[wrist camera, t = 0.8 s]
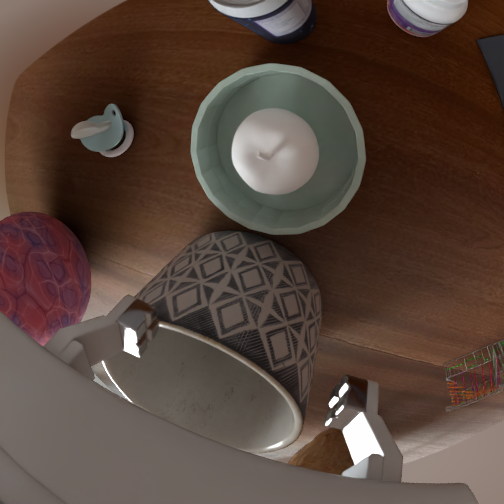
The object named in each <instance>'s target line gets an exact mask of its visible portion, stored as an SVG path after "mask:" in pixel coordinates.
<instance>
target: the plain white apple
mask: <svg viewBox="0 0 504 504" xmlns="http://www.w3.org/2000/svg"><path fill="white" fill-rule="evenodd" d="M318 160H319V146H318V142H317V139H316V136H315V134H314V132H313V130H312V129H311V127H310V126H309V124H308V123H307V122H306V121H305V120H303V119H302V118H301V117H299V116H298V115H296V114H295V113H292V112H290V111H288V110H284V109H280V108H267V109H262V110H258V111H256V112H254V113H252V114H251V115H249V116H248V117H247V118H246V119H244V121H243V122H242V123H241V124H240V126H239V127H238V129H237V131H236V133H235V135H234V139H233V143H232V161H233V165H234V167H235V169H236V171H237V172H238V173H239V175H240V176H241V177H242V179H243V180H244V181H245V182H246V183H247V184H248V185H249V186H250V187H251V188H253V189H254V190H255V191H258V192H261V193H265V194H273V195H280V194H287V193H290V192H293V191H295V190H297V189H298V188H300V187H302V186H303V185H304V184H305V183H306V182H308V181H309V179H310V178H311V177H312V175H313V174H314V172H315V170H316V167H317V165H318Z"/></svg>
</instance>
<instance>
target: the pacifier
mask: <svg viewBox="0 0 504 504" xmlns="http://www.w3.org/2000/svg"><path fill="white" fill-rule="evenodd" d="M114 110H115V112H116V116H115V115H114ZM124 129H125V131H126V138H125V141H124V142H123V144H122V145H121V146H120V147H119V148H117V149H116V150H109V149H111V148H113V147H114V146H116V145H117V144H118V143H119V142H120V140H121V139H122V137H123V133H124ZM71 137H72V138H76V139H81V142H82V144H83V145H84V146H85V147H86V148H88V149H89V150H91V151H96V152H100V153H101V154H102V155H104V156H106V157H116V156H118V155H120V154H122V153H123V152H125V151H126V150H127V149H128V148H129V146H130V145H131V143H132V140H133V137H134V131H133V127H132V125H131V124H130V123H129V122H128V121H125V120H123V119H122V115H121V112H120V110H119V108H118V107H117V105H115V104H109V105H108V106H107V107H106V109H105V111H104V115H102V116H93V117H91V118H89V119H88V120H87V121H83V122H80V123H78V124H76V125H75V126H74V127H73V129H72V131H71Z"/></svg>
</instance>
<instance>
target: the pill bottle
mask: <svg viewBox="0 0 504 504" xmlns="http://www.w3.org/2000/svg"><path fill="white" fill-rule="evenodd" d="M467 6H468V0H387V9H388V13H389V15H390V17H391V18H392V20H393V21H394V23H395V24H396V25H397V26H398V27H399V28H401V29H402V30H404V31H405V32H407V33H409V34H411V35H414V36H418V37H429V36H433V35H435V34H437V33H438V32H440V31H441V30H443V29H444V28H446V27H448V26H449V25H451V24H453V23H454V22H456V21H458V20H459V19H460V18H461V17H463V15H464V14H465V12H466V10H467Z"/></svg>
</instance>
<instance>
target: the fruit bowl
mask: <svg viewBox="0 0 504 504" xmlns="http://www.w3.org/2000/svg"><path fill="white" fill-rule="evenodd" d="M267 108H280V109H284V110H288V111H290V112H292V113H295V114H296V115H298V116H299V117H301V118H302V119H303V120H305V121H306V122H307V123H308V124H309V126H310V127H311V129H312V130H313V132H314V134H315V136H316V139H317V142H318V146H319V160H318V165H317V167H316V170H315V172H314V174H313V175H312V177H311V178H310V179H309V181H308V182H306V183H305V184H304V185H303V186H302V187H300V188H298V189H297V190H295V191H293V192H290V193H287V194H280V195H273V194H265V193H261V192H258V191H255V190H254V189H253V188H251V187H250V186H249V185H248V184H247V183H246V182H245V181H244V180H243V179H242V177H241V176H240V175H239V173H238V172H237V171H236V169H235V167H234V165H233V161H232V143H233V139H234V135H235V133H236V131H237V129H238V127H239V126H240V124H241V123H242V122H243V121H244V119H246V118H247V117H248V116H249V115H251V114H252V113H254V112H256V111H258V110H262V109H267ZM191 156H192V160H193V164H194V168H195V173H196V176H197V178H198V180H199V182H200V184H201V185H202V187H203V189H204V191H205V192H206V194H207V196H208V198H209V199H210V200H211V201H212V202H213V203H214V204H215V205H216V206H217V207H218V208H219V209H220V210H221V211H222V212H223V213H224V214H225V215H226V216H227V217H229V218H231V219H232V220H234V221H236V222H238V223H240V224H241V225H243V226H245V227H247V228H248V229H252V230H256V231H260V232H264V233H268V234H272V235H286V234H301V233H304V232H307V231H310V230H312V229H315V228H318V227H321V226H323V225H325V224H326V223H328V222H329V221H330V220H332V219H333V218H334V217H336V216H337V215H338V214H339V213H341V212H342V211H343V210H344V209H345V208H346V207H347V205H348V204H349V202H350V201H351V199H352V198H353V196H354V195H355V193H356V191H357V190H358V188H359V187H360V183H361V179H362V175H363V171H364V167H365V163H366V153H365V142H364V133H363V129H362V127H361V125H360V122H359V120H358V118H357V116H356V114H355V112H354V110H353V108H352V106H351V104H350V102H349V101H348V100H347V99H346V98H345V97H344V96H343V95H342V94H341V93H340V92H339V91H338V90H337V89H336V88H335V87H334V86H333V85H332V84H331V83H330V82H329V81H328V80H326V79H324V78H322V77H320V76H318V75H316V74H314V73H312V72H310V71H308V70H306V69H304V68H302V67H298V66H291V65H284V64H276V63H267V64H262V65H257V66H252V67H247V68H243V69H241V70H239V71H237V72H236V73H234V74H232V75H231V76H229V77H227V78H225V79H224V80H222V81H221V82H219V83H218V84H217V85H216V86H215V87H214V89H213V90H212V91H211V92H210V93H209V95H208V96H207V97H206V98H205V99H204V100H203V102H202V103H201V105H200V108H199V110H198V113H197V115H196V118H195V121H194V123H193V126H192V137H191Z"/></svg>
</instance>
